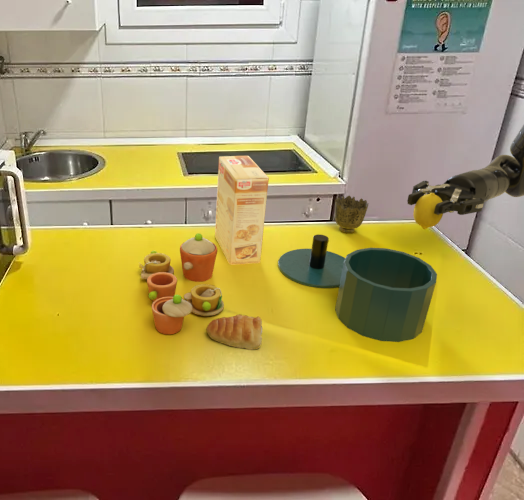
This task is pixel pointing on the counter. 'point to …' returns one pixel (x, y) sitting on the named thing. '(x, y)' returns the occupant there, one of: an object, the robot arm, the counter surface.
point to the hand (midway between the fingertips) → (423, 204)
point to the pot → (385, 294)
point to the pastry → (237, 331)
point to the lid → (313, 265)
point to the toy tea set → (164, 284)
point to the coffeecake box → (240, 209)
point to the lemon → (427, 211)
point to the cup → (349, 213)
